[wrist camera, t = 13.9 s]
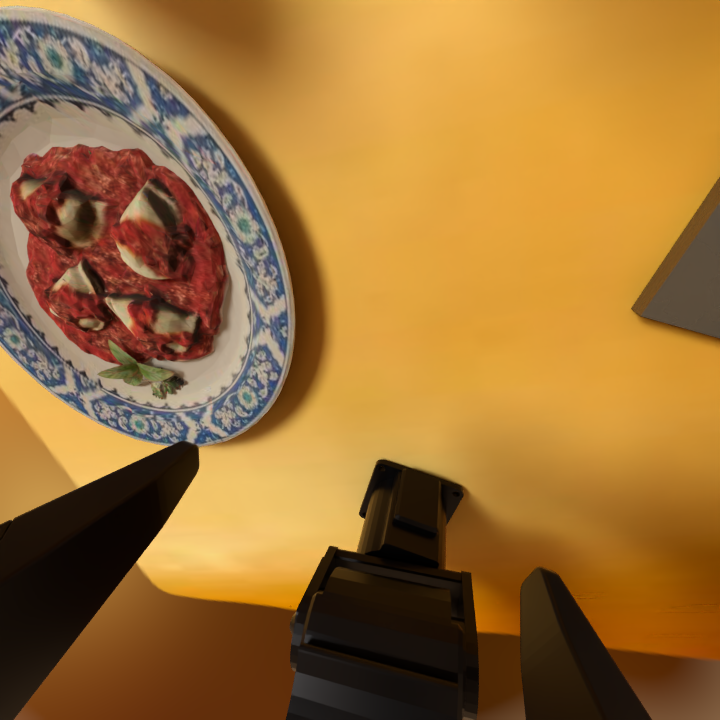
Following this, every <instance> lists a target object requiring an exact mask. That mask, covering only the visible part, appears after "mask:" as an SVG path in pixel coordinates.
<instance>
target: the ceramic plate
mask: <svg viewBox="0 0 720 720" xmlns="http://www.w3.org/2000/svg"><path fill="white" fill-rule="evenodd" d="M294 342H295V305H294V295H293V289H292V282H291V276H290V272H289V268H288V264H287V260H286V256H285V252H284V249H283V246H282V243H281V240H280V238H279V235H278V232H277V229H276V226H275V224H274V221H273V219H272V217H271V215H270V212H269V210H268V208H267V205H266V203H265V201H264V199H263V197H262V195H261V193H260V191H259V189H258V188H257V186H256V184H255V182H254V180H253V178H252V176H251V175H250V173H249V171H248V170H247V168H246V167H245V165H244V163H243V162H242V160H241V159H240V157H239V156H238V154H237V152H236V151H235V149H234V148H233V147H232V145H231V144H230V142H229V141H228V140H227V138H226V137H225V136H224V134H223V133H222V132H221V130H220V129H219V128H218V126H217V125H216V124H215V123H214V121H213V120H212V119H211V118H210V117H209V116H208V115H207V114H206V112H205V111H204V110H203V109H202V108H201V107H200V106H199V104H198V103H197V102H196V101H195V100H194V99H193V98H192V97H191V96H190V95H189V94H188V93H187V92H186V91H185V90H184V89H183V88H182V87H181V86H180V85H179V84H178V83H177V82H176V81H175V80H173V79H172V78H171V77H170V76H169V75H168V74H166V73H165V72H164V71H163V70H161V69H160V68H159V67H157V66H156V65H155V64H154V63H152V62H151V61H150V60H149V59H147V58H146V57H145V56H144V55H142V54H141V53H140V52H138V51H137V50H136V49H134V48H133V47H131V46H130V45H128V44H126V43H125V42H123V41H121V40H120V39H118V38H116V37H114V36H113V35H111V34H109V33H107V32H105V31H103V30H101V29H99V28H97V27H95V26H94V25H92V24H89V23H87V22H84V21H81V20H79V19H76V18H74V17H71V16H69V15H66V14H62V13H58V12H54V11H50V10H46V9H42V8H34V7H24V6H7V7H0V346H1V347H2V348H3V349H4V350H5V351H6V352H7V354H8V355H9V356H10V357H11V358H12V359H13V360H14V361H15V362H16V363H17V364H18V365H19V366H21V367H22V368H23V369H24V370H25V371H26V372H27V373H28V374H29V375H30V376H31V377H33V378H34V379H35V380H36V381H37V382H38V383H39V384H40V385H42V386H43V387H44V388H45V389H46V390H48V391H49V392H50V393H51V394H53V395H54V396H55V397H57V398H58V399H60V400H61V401H63V402H64V403H65V404H67V405H68V406H70V407H71V408H73V409H74V410H76V411H77V412H79V413H81V414H83V415H84V416H86V417H88V418H90V419H91V420H93V421H95V422H97V423H98V424H100V425H103V426H105V427H107V428H109V429H112V430H114V431H116V432H118V433H121V434H123V435H126V436H129V437H131V438H134V439H136V440H141V441H145V442H149V443H154V444H159V445H165V446H171V445H173V444H175V443H177V442H180V441H188V442H191V443H194V444H196V445H197V446H198V447H201V446H208V445H214V444H217V443H221V442H224V441H228V440H230V439H232V438H234V437H237V436H238V435H240V434H242V433H244V432H245V431H247V430H248V429H250V428H251V427H252V426H254V425H255V424H256V423H257V422H258V421H259V420H260V419H261V418H262V417H263V416H264V415H265V414H266V413H267V412H268V410H269V409H270V408H271V406H272V405H273V404H274V402H275V401H276V399H277V397H278V396H279V394H280V392H281V390H282V387H283V385H284V382H285V380H286V378H287V375H288V372H289V368H290V364H291V360H292V356H293V349H294Z"/></svg>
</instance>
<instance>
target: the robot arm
mask: <svg viewBox="0 0 720 720" xmlns="http://www.w3.org/2000/svg"><path fill="white" fill-rule="evenodd" d="M381 466H383V467H381ZM198 469H199V448H198V446H197V445H196V444H194V443H191V442H188V441H180V442H177V443H175V444H173V445H171V446H169V447H167V448H164V449H162V450H160V451H158V452H156V453H154V454H152V455H149V456H147V457H145V458H143V459H141V460H139V461H136V462H134V463H132V464H130V465H128V466H126V467H123V468H121V469H119V470H117V471H115V472H113V473H110V474H108V475H106V476H104V477H102V478H100V479H98V480H95V481H93V482H91V483H89V484H87V485H85V486H82V487H80V488H78V489H76V490H74V491H72V492H69V493H68V494H65V495H63V496H61V497H59V498H56V499H55V500H52V501H50V502H48V503H46V504H44V505H41V506H39V507H37V508H35V509H33V510H31V511H29V512H26V513H24V514H22V515H20V516H18V517H15V518H14V519H13V521H12V520H9V521H7V522H4V523H2V524H0V720H14V719H15V717H16V716H17V715H18V713H19V712H20V711H21V709H22V708H23V707H24V706H25V704H26V703H27V702H28V701H29V699H30V698H31V696H32V695H33V694H34V692H35V691H36V690H37V689H38V688H39V686H40V685H41V684H42V682H43V681H44V680H45V679H46V677H47V676H48V675H49V673H50V672H51V671H52V670H53V668H54V667H55V666H56V664H57V663H58V662H59V661H60V659H61V658H62V657H63V655H64V654H65V653H66V652H67V650H68V649H69V648H70V646H71V645H72V644H73V642H74V641H75V640H76V638H77V637H78V636H79V635H80V633H81V632H82V631H83V629H84V628H85V627H86V626H87V624H88V623H89V622H90V621H91V619H92V618H93V617H94V615H95V614H96V613H97V611H98V610H99V609H100V608H101V606H102V605H103V604H104V602H105V601H106V600H107V598H108V597H109V596H110V595H111V593H112V592H113V591H114V590H115V588H116V587H117V586H118V584H119V583H120V582H121V581H122V579H123V578H124V577H125V575H126V574H127V573H128V571H129V570H130V569H131V568H132V566H133V565H134V564H135V563H136V561H137V560H138V559H139V557H140V556H141V555H142V554H143V552H144V551H145V550H146V548H147V547H148V546H149V544H150V543H151V542H152V541H153V539H154V538H155V537H156V535H157V534H158V533H159V531H160V530H161V529H162V527H163V526H164V524H165V523H166V521H167V520H168V518H169V517H170V515H171V514H172V512H173V510H174V509H175V507H176V506H177V504H178V502H179V501H180V499H181V498H182V496H183V495H184V493H185V491H186V490H187V488H188V487H189V485H190V483H191V482H192V480H193V479H194V477H195V475H196V474H197V472H198ZM462 497H463V488H462V487H461V486H459V485H456V484H453V483H451V482H448V481H445V480H442V479H439V478H436V477H433V476H430V475H427V474H424V473H421V472H418V471H415V470H412V469H409V468H407V467H404V466H401V465H398V464H395V463H392V462H389V461H386V460H378V461H377V462H376V465H375V468H374V471H373V473H372V476H371V479H370V482H369V485H368V488H367V491H366V494H365V497H364V499H363V502H362V505H361V508H360V512H359V515H360V516H361V517H362V518H364V519H365V521H364V525H363V529H362V533H361V537H360V541H359V545H358V549H357V552H352V551H346V550H341V549H338V547H334V546H329V548H328V550H327V552H326V554H325V556H324V557H323V558H322V559H321V561H320V563H319V565H318V567H317V570H316V572H315V574H314V576H313V578H312V580H311V582H310V584H309V586H308V588H307V590H306V592H305V594H304V596H303V598H302V600H301V602H300V604H299V606H298V608H297V611H296V613H295V614H294V615H293V617H292V619H291V622H290V630H291V633H292V635H293V637H292V643H291V654H290V663H291V668H292V669H293V670H294V671H296V672H295V678H294V684H293V689H292V695H291V700H290V704H289V709H288V713H287V717H286V720H462V719H464V720H476V718H477V709H478V691H479V686H478V685H479V664H478V642H477V630H476V620H475V610H474V600H473V590H472V579H471V573H469V572H464V571H461V573H460V572H455V571H450V570H445V560H446V525H447V523H448V522H449V520H450V518H451V517H452V515H453V513H454V511H455V510H456V508H457V506H458V504H459V503H460V501H461V499H462ZM520 639H521V641H520V642H521V644H520V646H521V648H520V649H521V673H522V683H523V694H524V704H525V714H526V720H652V719H651V717H650V716H649V714H648V713H647V711H646V710H645V708H644V707H643V705H642V703H641V702H640V700H639V699H638V697H637V696H636V694H635V693H634V691H633V689H632V688H631V686H630V685H629V683H628V682H627V680H626V679H625V677H624V675H623V674H622V672H621V671H620V669H619V668H618V666H617V665H616V663H615V662H614V660H613V658H612V657H611V655H610V654H609V652H608V651H607V649H606V648H605V646H604V644H603V643H602V641H601V640H600V638H599V637H598V635H597V634H596V632H595V631H594V629H593V627H592V626H591V624H590V623H589V621H588V620H587V618H586V617H585V615H584V613H583V612H582V610H581V609H580V607H579V606H578V604H577V603H576V601H575V599H574V598H573V596H572V595H571V593H570V592H569V590H568V589H567V587H566V586H565V584H564V582H563V581H562V579H561V578H560V576H559V575H558V574H557V573H556V572H554V571H552V570H549V569H546V568H543V567H537V568H535V569H534V571H533V572H532V573H531V574H530V575H529V576H528V577H527V578H526V580H525V581H524V582H523V584H522V586H521V592H520Z"/></svg>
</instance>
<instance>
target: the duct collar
mask: <svg viewBox="0 0 720 720" xmlns="http://www.w3.org/2000/svg"><path fill="white" fill-rule="evenodd" d="M631 309H632V310H633V311H635V312H636V313H637V314H638V315H640V316H642V317H646V318H649V319H653V320H656V321H660V322H663V323H667V324H671V325H674V326H678V327H681V328H685V329H688V330H692V331H695V332H699V333H703V334H706V335H710V336H713V337H717V338H720V178H719V179H718V181H717V182H716V183H715V185H714V186H713V188H712V189H711V191H710V192H709V194H708V195H707V197H706V198H705V200H704V201H703V203H702V204H701V206H700V207H699V209H698V210H697V212H696V213H695V215H694V216H693V218H692V219H691V221H690V222H689V224H688V225H687V227H686V228H685V230H684V231H683V232H682V234H681V235H680V237H679V238H678V240H677V241H676V243H675V244H674V246H673V247H672V249H671V250H670V252H669V253H668V255H667V256H666V258H665V259H664V261H663V262H662V264H661V265H660V267H659V268H658V270H657V271H656V273H655V274H654V276H653V277H652V279H651V280H650V281H649V283H648V284H647V286H646V287H645V289H644V290H643V292H642V293H641V295H640V296H639V298H638V299H637V301H636V302H635V304H634V305H633V307H632V308H631Z"/></svg>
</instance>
